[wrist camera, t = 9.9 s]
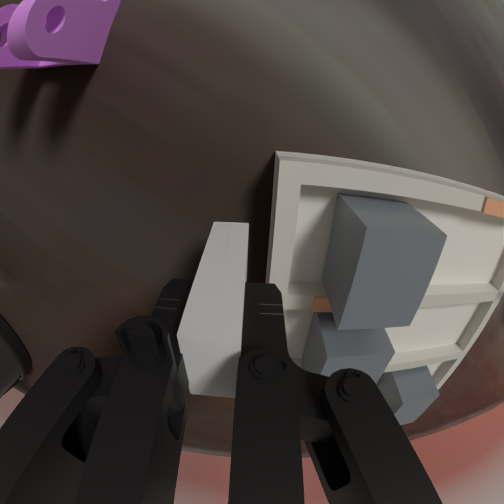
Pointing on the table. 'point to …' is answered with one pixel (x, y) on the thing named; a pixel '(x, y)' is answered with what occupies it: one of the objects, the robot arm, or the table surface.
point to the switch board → (445, 275)
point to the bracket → (54, 32)
